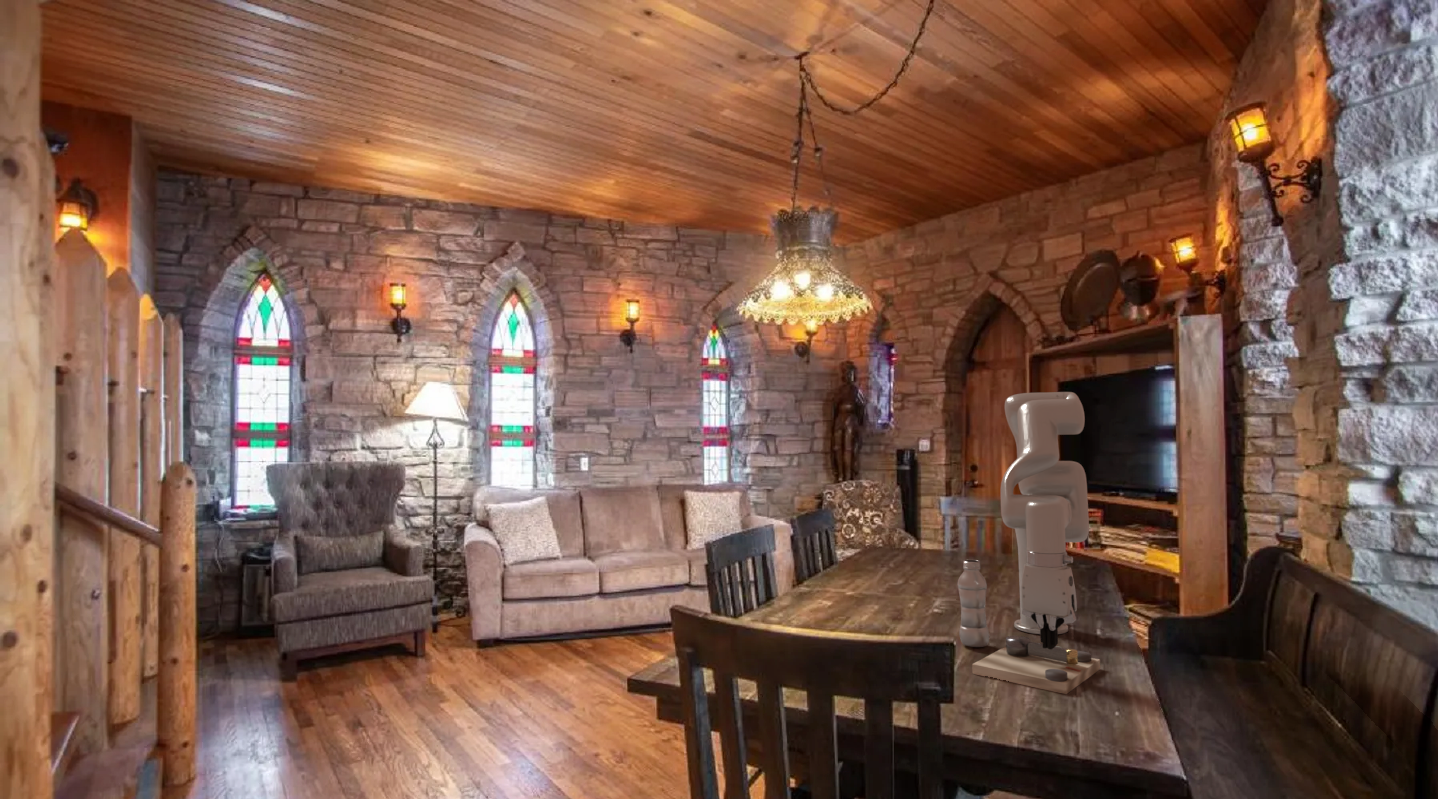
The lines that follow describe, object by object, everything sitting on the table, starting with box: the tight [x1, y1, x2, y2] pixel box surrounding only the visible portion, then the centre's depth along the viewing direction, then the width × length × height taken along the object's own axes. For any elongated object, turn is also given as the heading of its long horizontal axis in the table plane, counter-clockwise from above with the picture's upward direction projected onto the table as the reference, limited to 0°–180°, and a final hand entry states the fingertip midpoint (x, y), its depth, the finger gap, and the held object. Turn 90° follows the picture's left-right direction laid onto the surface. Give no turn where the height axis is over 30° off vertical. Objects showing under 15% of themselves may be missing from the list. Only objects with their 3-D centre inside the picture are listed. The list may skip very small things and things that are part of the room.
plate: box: [971, 645, 1101, 695], centre depth 161 cm, size 20×19×3 cm
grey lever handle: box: [1005, 635, 1078, 665], centre depth 163 cm, size 15×5×3 cm, turn 43°
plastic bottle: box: [957, 559, 990, 648], centre depth 181 cm, size 6×7×20 cm
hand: (1049, 647), depth 160 cm, fingers closed
